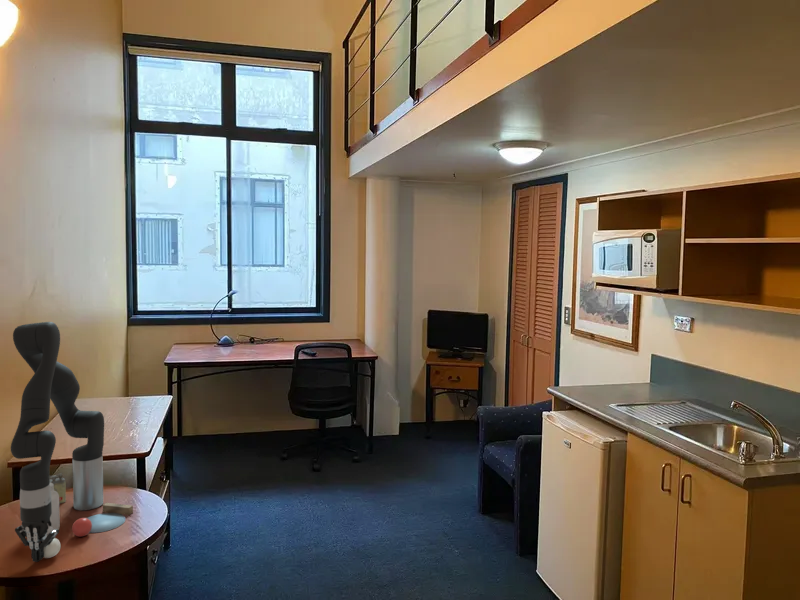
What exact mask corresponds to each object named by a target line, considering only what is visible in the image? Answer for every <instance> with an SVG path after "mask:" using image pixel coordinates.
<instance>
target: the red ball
mask: <svg viewBox="0 0 800 600" xmlns="http://www.w3.org/2000/svg"><path fill="white" fill-rule="evenodd" d="M87 518H88V517H79V518H78V519H76V520H75V521H74V523H72V526H71V531H72V534H74V536H76V537H80V538H81V537H85V536H87V535H88V534H90V533H89V532H90V531H91V529H92V523H91V521H90V520H89V519H87Z"/></svg>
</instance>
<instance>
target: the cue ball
mask: <svg viewBox="0 0 800 600" xmlns="http://www.w3.org/2000/svg"><path fill="white" fill-rule="evenodd" d="M60 550H61V542H60V540H59V539H58V538H56V537H55V538H54V539H53V541H52V542H51V543H50V544H49V545H47V546H46V547H45V548H44V557H43V559H50V558H53V557H55V556H57V555H58V553H59V552H60Z"/></svg>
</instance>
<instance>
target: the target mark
mask: <svg viewBox="0 0 800 600" xmlns="http://www.w3.org/2000/svg"><path fill="white" fill-rule="evenodd" d="M125 516H126V515H123V514H118V513H105V512H102V513H98V514H93V515H91V516H87V517H86V518H87V519H89V520H90V521H91V523H92V529H91V531H90V532H89V533H88V534H96V533H97V534H98V533H104V532H108V531H111V530H114V529H117V528H119V527H121V526H122V525H123V524H124V523H125V522H126V517H125Z"/></svg>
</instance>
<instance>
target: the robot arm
mask: <svg viewBox="0 0 800 600" xmlns="http://www.w3.org/2000/svg"><path fill="white" fill-rule="evenodd" d="M12 340H13V344H14V347H15V349H16V350H17V352H18V353H19V355H20V356H21V358H22V359H23V360H24V362H26V364H27V365H28V366H29V367H30V368H31V370H32V371H33V372H34V374H33V375H32V376H31V378H30V380H28V382H27V384H26V385H25V387H24V390H23V392H22V395H21V401H20V402H21V406H20V417H19V422H18V425H17V428H16V430H15V433H14V436H13V438H12V441H11V443H10V452H11V455H12V456H13V458H15V459H18V460H21V459H30V458H31V459H32V458H33V459H34V458H40V459H39V460H38V461H36V462H33V463H29V464H26V465H25V466H23V467H21V469H20V470H19V483H20V484H19V486H20V490H19V511H20V513H19V514H20V515H19V517H20V518H19V519H20V521H21V525H19V526H17V527H15V528H14V532H15V533H16V535H17V536H18V537H19V539H20V541H21V542H22V544H23V546H25V547H29V549H30V554H31V559H32V562H34V563H38V562H40V561H41V560H43V559H44V548H45V547H46V546H47V545H49V544H50V543H51V542H52V541H53V539H54V538H56V536H57V535H58V534H59V533H60V529H59V530H58V529H56V530H54V529H53V528H52V527H51V525H52V524H51V521H50V517H51V514H52V505H51V488H50V480H51V479H50V478H49V476H50V467H51V460H52V458H53V454H54V450H55V448H56V443H57V442H56V441H57V440H56V439H57V438H56V436H55V433H54V432H52V431H51V430H39V431H36V430H35V431H30V430H31V429H32V428H33V427H35V426H39V425H42V424H45V423H46V422H48V421H49V419H50V411H51V402H52V404H53V405H54V407H55V410H56V411H57V413H58V415H59V418H60V421H61V422H62V424H63V427H64V430H65V431H66V433H67V435H68V436H69V437H70V438H75V439H87V444H84V445H81V446H78V447H76V448H74V449H73V450H72V453H71V454H72V455H71V457H72V495H73V496H72V497H73V498H72V499H73V501H72V502H73V503H72V504H73V509H74V510H77V511H89V510H90V511H91V510H93V509H96V508H100V506H103V505H104V469H103V467H104V465H103V464H104V462H103V451H104V450H103V449H104V445H105V444H104V440H105V416H104V415H103V413H102V412H101V411H99V410H80V409H78V408H77V406H76V404H75V403H76V401H77V399H78V396H79V394H80V387H81V386H80V384H79V381H78V379H77V377H76V376H75V373H74V372H73V371H72V370H71V369H70V368H69V367H68V366H66V365H65V364H63V363H61V362H59V361H58V356H59V351H60V345H61V333H60V329H59V327H58V326H57V324H56V323H55V322H53V321H45V322H44V321H42V322H34V323H26V324H21V325H19V326H17V327H16V328H14V330H13V332H12Z"/></svg>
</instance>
